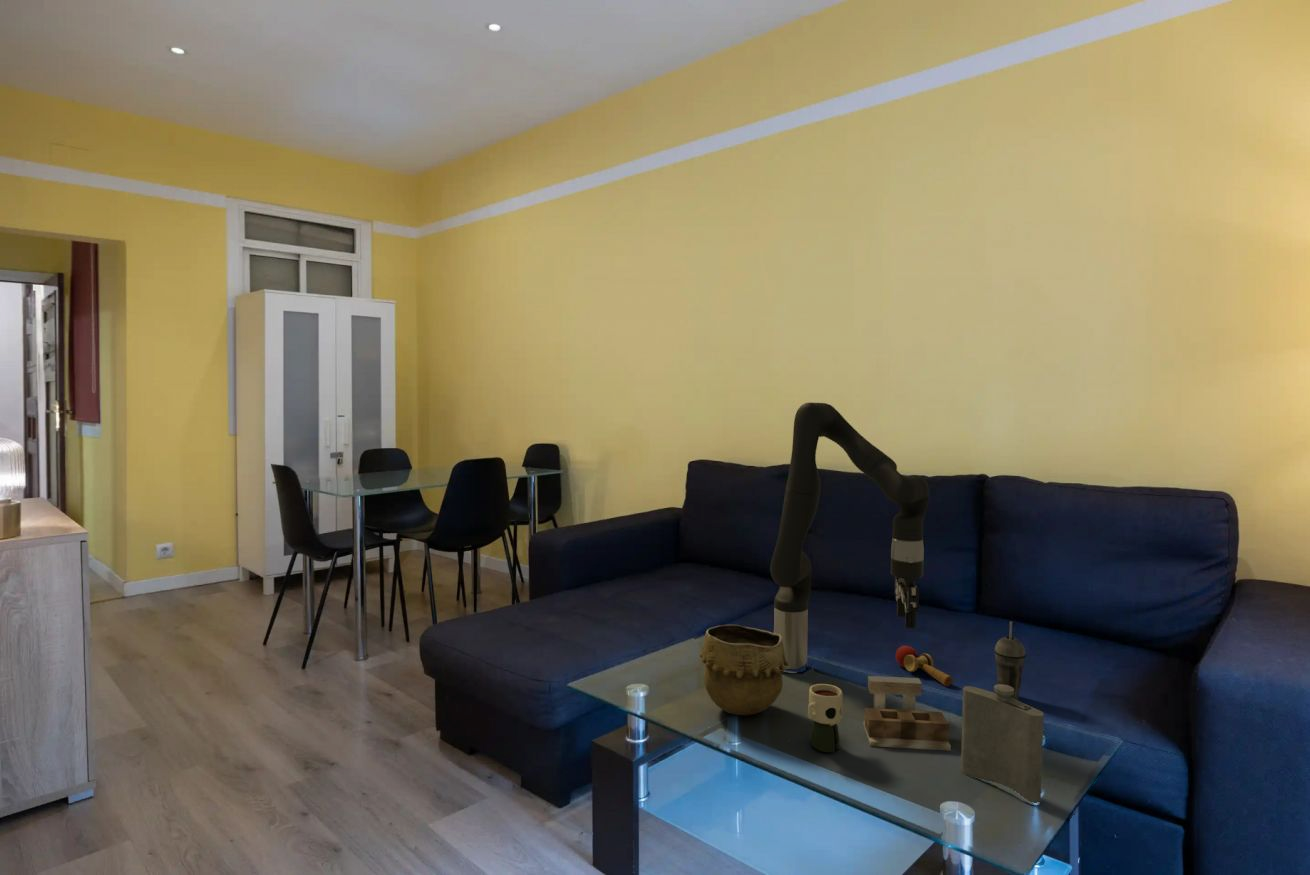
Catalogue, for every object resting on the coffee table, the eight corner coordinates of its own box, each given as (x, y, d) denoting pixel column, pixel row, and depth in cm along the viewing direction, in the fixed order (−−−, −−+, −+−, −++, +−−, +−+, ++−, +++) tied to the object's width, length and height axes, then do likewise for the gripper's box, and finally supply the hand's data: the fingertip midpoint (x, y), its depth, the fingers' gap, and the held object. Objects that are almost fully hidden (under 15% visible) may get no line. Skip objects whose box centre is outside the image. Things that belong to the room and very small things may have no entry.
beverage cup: (1024, 694, 186) (1026, 617, 185) (1025, 705, 180) (1027, 626, 178) (992, 689, 189) (995, 614, 188) (992, 700, 183) (995, 622, 181)
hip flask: (957, 771, 149) (960, 676, 148) (968, 765, 152) (971, 672, 150) (1035, 807, 136) (1038, 704, 135) (1046, 800, 139) (1049, 698, 137)
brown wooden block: (870, 745, 160) (870, 723, 159) (863, 724, 170) (863, 704, 169) (950, 750, 158) (951, 728, 157) (938, 729, 167) (939, 708, 167)
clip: (869, 713, 176) (870, 681, 175) (867, 707, 179) (868, 675, 178) (921, 716, 174) (921, 683, 174) (918, 710, 177) (918, 678, 177)
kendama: (960, 687, 194) (909, 656, 209) (960, 667, 192) (909, 637, 208) (938, 698, 191) (889, 665, 206) (938, 677, 189) (888, 646, 205)
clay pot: (736, 685, 192) (736, 612, 191) (804, 711, 177) (804, 631, 176) (682, 710, 177) (682, 630, 176) (751, 740, 162) (751, 653, 161)
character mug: (821, 762, 153) (822, 702, 152) (795, 748, 159) (796, 691, 158) (854, 746, 159) (855, 689, 159) (828, 734, 165) (829, 678, 164)
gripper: (885, 550, 184) (884, 612, 186) (898, 563, 170) (896, 631, 171) (915, 550, 184) (914, 613, 185) (931, 564, 170) (929, 632, 171)
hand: (905, 621), depth 178 cm, fingers open, 8 cm apart
